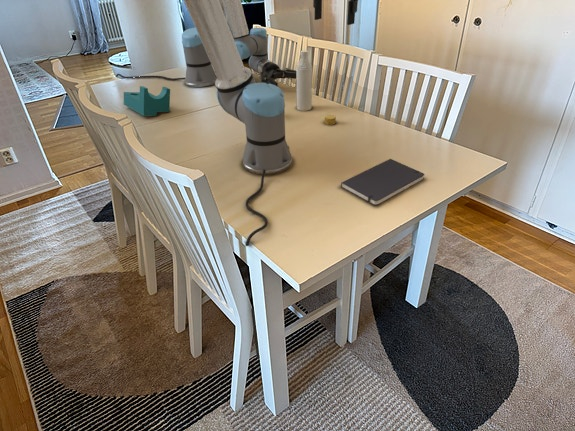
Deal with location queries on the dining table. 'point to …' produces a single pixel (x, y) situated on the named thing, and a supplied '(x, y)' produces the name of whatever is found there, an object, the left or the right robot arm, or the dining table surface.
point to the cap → (330, 119)
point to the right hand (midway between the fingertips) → (333, 21)
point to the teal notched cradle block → (148, 101)
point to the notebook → (382, 181)
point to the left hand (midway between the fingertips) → (291, 83)
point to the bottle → (304, 82)
